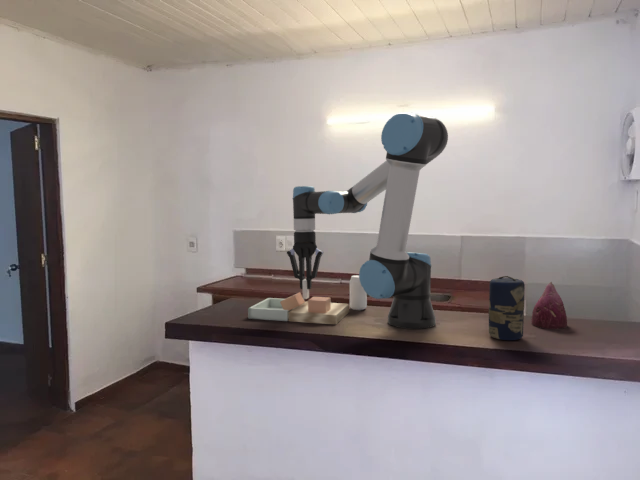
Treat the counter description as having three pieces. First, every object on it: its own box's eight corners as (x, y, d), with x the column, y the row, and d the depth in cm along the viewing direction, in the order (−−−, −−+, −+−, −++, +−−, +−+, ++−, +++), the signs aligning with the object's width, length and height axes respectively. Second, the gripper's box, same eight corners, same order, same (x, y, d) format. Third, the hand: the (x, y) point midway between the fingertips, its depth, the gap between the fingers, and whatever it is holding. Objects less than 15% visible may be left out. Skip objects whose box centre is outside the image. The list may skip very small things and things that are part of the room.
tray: (304, 309, 188) (304, 299, 187) (287, 321, 170) (287, 310, 170) (268, 307, 192) (268, 297, 191) (248, 318, 174) (248, 308, 174)
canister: (504, 344, 143) (506, 279, 142) (481, 335, 152) (482, 274, 150) (530, 340, 147) (532, 277, 146) (506, 332, 156) (508, 272, 154)
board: (348, 312, 183) (348, 303, 183) (336, 324, 166) (336, 315, 166) (305, 309, 188) (305, 301, 187) (288, 321, 170) (288, 312, 170)
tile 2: (304, 302, 185) (299, 292, 185) (299, 305, 179) (294, 295, 179) (290, 308, 187) (285, 298, 187) (284, 312, 181) (280, 301, 181)
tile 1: (330, 309, 174) (330, 297, 174) (325, 313, 169) (325, 301, 168) (313, 308, 176) (313, 296, 176) (308, 312, 170) (308, 300, 170)
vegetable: (536, 330, 170) (534, 284, 173) (570, 330, 164) (567, 283, 167) (527, 328, 162) (525, 280, 165) (563, 329, 156) (560, 279, 159)
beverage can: (346, 309, 188) (346, 276, 187) (356, 306, 193) (356, 274, 191) (359, 311, 184) (359, 278, 183) (370, 308, 188) (370, 276, 187)
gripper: (325, 230, 182) (326, 296, 183) (290, 230, 185) (291, 295, 187) (319, 231, 174) (320, 300, 176) (283, 231, 178) (284, 299, 180)
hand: (305, 298), depth 181 cm, fingers closed
